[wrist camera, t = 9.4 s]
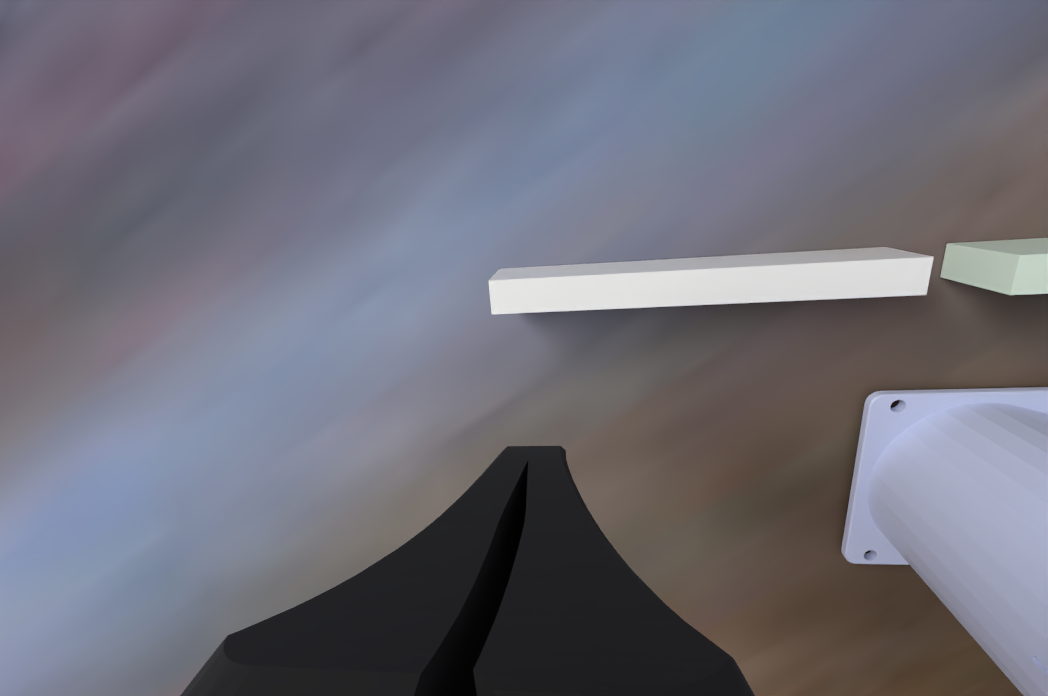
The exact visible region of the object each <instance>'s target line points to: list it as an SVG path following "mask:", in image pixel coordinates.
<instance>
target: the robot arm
mask: <svg viewBox="0 0 1048 696" xmlns="http://www.w3.org/2000/svg"><path fill="white" fill-rule="evenodd" d="M896 400H899V403H898V405H897V406H895V407H893V408H891V407H890V406H891V404H892V403H893V402H894V401H896ZM870 550H871V551H870ZM867 551H870V552H869V553H866V554H865V552H867ZM841 552H842V554H843V555H844V557H845V558H846V560H847V561H848V562H850V563H854V564H897V565H910V566H911V567H912V568H913V569H914V570H915V572H916V573H917V574H918V575H919V576H920V577H921V578H922V580H923V581H924V582H925V583H926V584H927V585H928V586H929V588H930V589H931V590H932V591H933V592H934V593H935V594H936V596H937V597H938V598H939V599H940V600H941V601H942V603H943V604H944V605H945V606H946V607H947V608H948V609H949V611H950V612H951V613H952V614H953V615H954V616H955V617H956V619H957V620H958V621H959V622H960V623H961V624H962V626H963V627H964V628H965V629H966V630H967V631H968V632H969V634H970V635H971V636H972V637H973V638H974V639H975V640H976V642H977V643H978V644H979V645H980V646H981V647H982V648H983V650H984V651H985V652H986V653H987V654H988V655H989V657H990V658H991V659H992V660H993V661H994V662H995V663H996V665H997V666H998V667H999V668H1000V669H1001V670H1002V671H1003V673H1004V674H1005V675H1006V676H1007V677H1008V678H1009V680H1010V681H1011V682H1012V683H1013V684H1014V685H1015V686H1016V688H1017V689H1018V690H1019V691H1020V692H1021V693H1022V694H1023V696H1048V387H1028V388H984V389H940V390H896V391H877V392H874V393H872V394H870V395H869V396H868V397H867V398H866V401H865V404H864V411H863V417H862V423H861V429H860V436H859V442H858V448H857V454H856V460H855V467H854V473H853V479H852V485H851V492H850V498H849V504H848V510H847V517H846V523H845V529H844V535H843V542H842V548H841ZM180 696H754V694H753V692H752V690H751V688H750V686H749V685H748V683H747V681H746V679H745V677H744V676H743V674H742V672H741V670H740V669H739V667H738V665H737V664H736V662H735V660H734V659H733V658H732V657H731V656H730V655H729V654H727V653H726V652H725V651H723V650H722V649H721V648H719V647H718V646H717V645H715V644H714V643H713V642H711V641H710V640H709V639H707V638H706V637H705V636H703V635H702V634H701V633H700V632H698V631H697V630H696V629H694V628H693V627H692V626H690V625H689V624H688V623H686V622H685V621H684V620H683V619H681V618H680V617H679V616H678V615H677V614H676V613H675V612H674V611H672V610H671V609H670V608H669V607H668V606H667V605H666V604H665V603H664V602H663V601H662V600H661V599H660V598H659V597H658V596H657V595H656V594H655V593H654V592H653V591H652V590H651V589H650V588H649V587H648V586H647V585H646V584H645V583H644V582H643V581H642V580H641V579H640V578H639V577H638V576H637V575H636V574H635V573H634V572H633V571H632V569H631V568H630V567H629V566H628V565H627V564H626V562H625V561H624V560H623V559H622V558H621V556H620V555H619V554H618V553H617V551H616V550H615V549H614V547H613V546H612V545H611V544H610V542H609V541H608V540H607V538H606V537H605V535H604V534H603V532H602V531H601V530H600V528H599V527H598V525H597V523H596V522H595V520H594V519H593V517H592V515H591V514H590V512H589V510H588V509H587V507H586V505H585V503H584V501H583V500H582V498H581V496H580V494H579V491H578V489H577V487H576V485H575V483H574V481H573V479H572V476H571V473H570V471H569V468H568V465H567V461H566V451H565V450H564V449H563V448H562V447H561V446H509V447H506V448H505V449H504V450H503V451H502V452H501V454H500V455H499V456H498V457H497V458H496V459H495V460H494V461H493V463H492V464H491V465H490V466H489V467H488V468H487V469H486V471H485V472H484V473H483V474H482V475H481V476H480V477H479V478H478V479H477V480H476V481H475V482H474V483H473V485H472V486H471V487H470V488H469V489H468V490H467V491H466V492H465V493H464V494H463V495H462V496H461V497H460V498H459V499H458V500H457V501H456V502H455V503H454V504H453V505H451V506H450V507H449V508H448V509H447V510H446V511H445V512H444V513H443V514H442V515H441V516H440V517H438V518H437V519H436V520H435V521H434V522H433V523H431V524H430V525H429V526H428V527H426V528H425V529H424V530H423V531H421V532H420V533H419V534H417V535H416V536H415V537H413V538H412V539H411V540H409V541H408V542H407V543H405V544H404V545H402V546H401V547H400V548H398V549H397V550H395V551H394V552H392V553H390V554H389V555H387V556H386V557H384V558H383V559H381V560H379V561H378V562H376V563H375V564H373V565H372V566H370V567H368V568H367V569H365V570H364V571H362V572H361V573H359V574H357V575H355V576H354V577H352V578H350V579H348V580H346V581H345V582H343V583H341V584H339V585H337V586H336V587H334V588H332V589H330V590H328V591H326V592H324V593H322V594H320V595H318V596H316V597H314V598H312V599H310V600H308V601H306V602H304V603H302V604H300V605H298V606H296V607H294V608H291V609H289V610H287V611H285V612H282V613H280V614H278V615H275V616H273V617H271V618H268V619H266V620H264V621H261V622H259V623H257V624H255V625H252V626H250V627H248V628H245V629H243V630H240V631H238V632H235V633H233V634H230V635H228V636H227V637H226V638H225V640H224V641H223V642H222V643H221V644H220V646H219V647H218V648H217V649H216V651H215V652H214V653H213V654H212V656H211V657H210V658H209V660H208V661H207V662H206V663H205V665H204V666H203V667H202V669H201V670H200V671H199V672H198V674H197V675H196V676H195V678H194V679H193V680H192V681H191V683H190V684H189V685H188V687H187V688H186V689H185V690H184V692H183V693H182V694H181V695H180Z"/></svg>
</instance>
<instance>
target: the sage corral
mask: <svg viewBox="0 0 1048 696" xmlns="http://www.w3.org/2000/svg"><path fill="white" fill-rule="evenodd" d="M940 277H941V278H945V279H949V280H953V281H957V282H961V283H964V284H968V285H972V286H976V287H980V288H984V289H988V290H992V291H996V292H999V293H1003V294H1007V295H1026V294H1048V238H1035V239H1017V240H999V241H982V242H964V243H947V245H946V250H945V256H944V261H943V266H942V271H941V276H940Z"/></svg>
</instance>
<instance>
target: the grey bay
mask: <svg viewBox="0 0 1048 696" xmlns="http://www.w3.org/2000/svg"><path fill="white" fill-rule="evenodd" d="M932 263H933V257H932V256H927V255H922V254H917V253H913V252H908V251H903V250H898V249H893V248H888V247H876V248H858V249H840V250H822V251H805V252H787V253H769V254H752V255H734V256H716V257H699V258H681V259H663V260H645V261H628V262H610V263H592V264H575V265H557V266H539V267H522V268H504V269H499V270H498V271H497V272H496V273H495V274H494V275H493V276H492V277H491V279H490V280H489V291H490V301H491V311H492V314H511V313H534V312H556V311H578V310H601V309H623V308H645V307H668V306H690V305H712V304H735V303H757V302H779V301H801V300H824V299H846V298H868V297H891V296H913V295H926V294H927V289H928V284H929V279H930V273H931V268H932Z"/></svg>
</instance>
